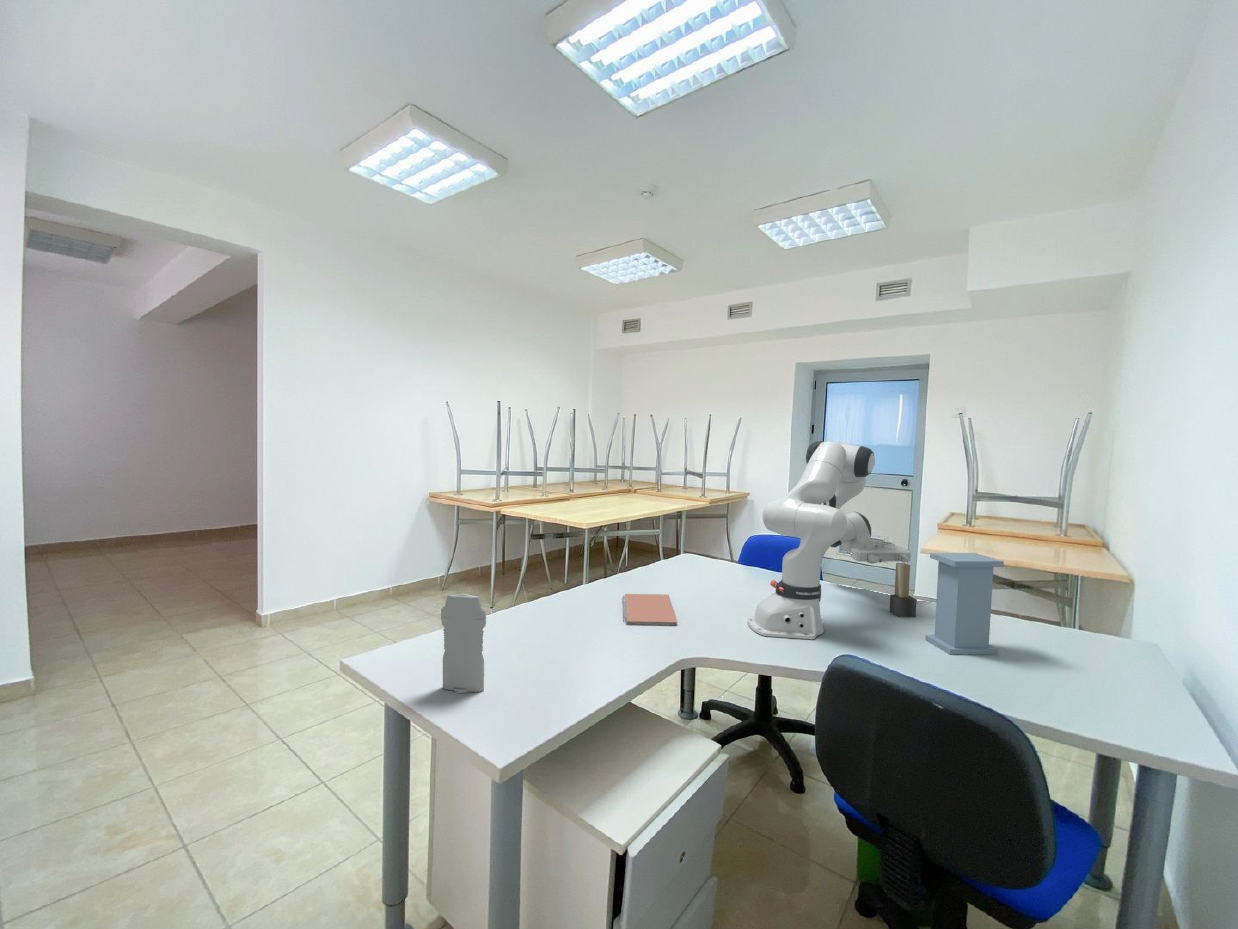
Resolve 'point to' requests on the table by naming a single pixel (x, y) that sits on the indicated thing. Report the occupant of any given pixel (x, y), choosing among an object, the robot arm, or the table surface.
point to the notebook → (648, 609)
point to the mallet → (902, 593)
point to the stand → (964, 603)
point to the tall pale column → (463, 643)
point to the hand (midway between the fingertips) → (893, 560)
